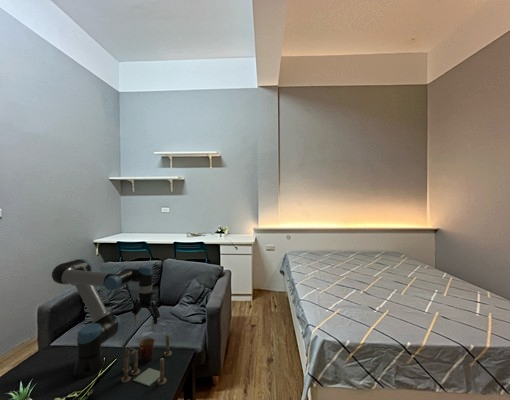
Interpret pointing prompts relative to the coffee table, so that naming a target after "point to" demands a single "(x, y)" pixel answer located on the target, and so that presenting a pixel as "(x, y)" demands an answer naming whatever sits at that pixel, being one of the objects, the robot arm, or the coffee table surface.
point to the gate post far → (167, 346)
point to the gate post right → (161, 373)
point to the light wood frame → (128, 368)
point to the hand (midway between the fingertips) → (145, 327)
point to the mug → (146, 349)
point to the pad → (148, 377)
